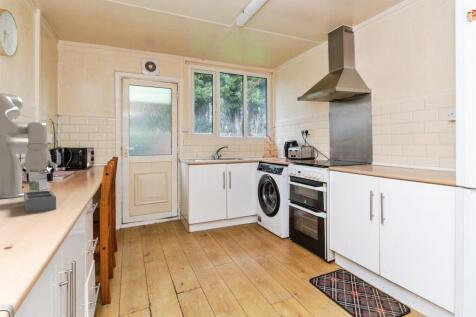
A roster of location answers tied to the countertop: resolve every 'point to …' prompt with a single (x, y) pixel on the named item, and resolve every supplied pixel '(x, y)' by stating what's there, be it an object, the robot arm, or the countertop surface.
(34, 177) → the syrup box
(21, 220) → the countertop surface
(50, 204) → the holder
